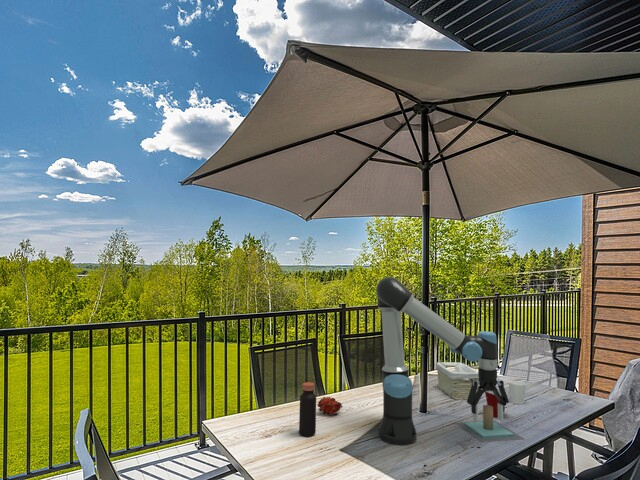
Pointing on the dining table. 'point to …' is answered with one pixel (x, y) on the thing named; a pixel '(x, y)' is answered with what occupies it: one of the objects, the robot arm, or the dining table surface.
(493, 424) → the lid
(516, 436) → the mat
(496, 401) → the plastic cup
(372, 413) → the dining table surface
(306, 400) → the bottle
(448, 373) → the storage basket
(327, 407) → the dragon fruit
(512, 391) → the white cup
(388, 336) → the robot arm
